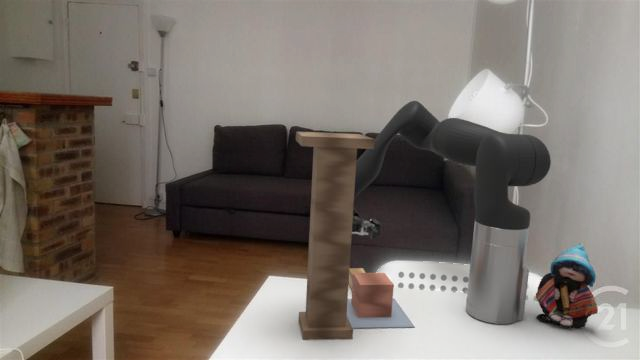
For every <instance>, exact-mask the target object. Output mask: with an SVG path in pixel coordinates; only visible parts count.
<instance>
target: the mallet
mask: <svg viewBox="0 0 640 360" xmlns="http://www.w3.org/2000/svg"><path fill="white" fill-rule="evenodd" d="M348 286H349V287H350V289H351V299H352V300H351V304H352V306H353V308H354V310H355V312H356V314H357V316H358V318H359V317H391V313H392V301H393V299H394V283H393V282H392V280H391V279H390V278H389V276H388V275H387V273H385V272H366V271H365V269H364V268H363V267H362V268H361V267H359V268H357V267H355V268H354V267H352V268H351V267H350V269H349V285H348Z"/></svg>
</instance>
